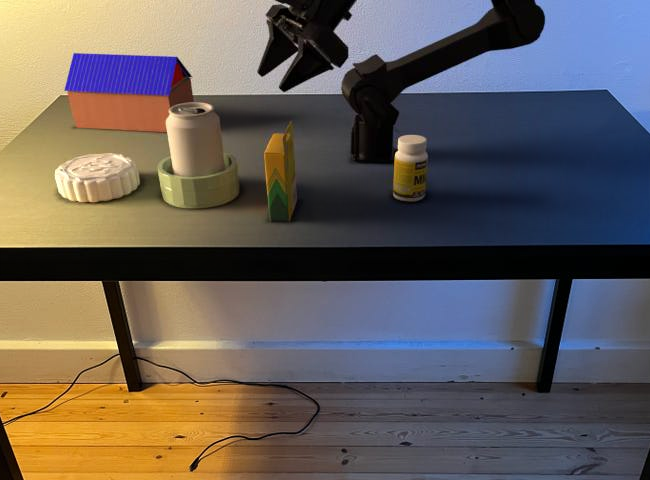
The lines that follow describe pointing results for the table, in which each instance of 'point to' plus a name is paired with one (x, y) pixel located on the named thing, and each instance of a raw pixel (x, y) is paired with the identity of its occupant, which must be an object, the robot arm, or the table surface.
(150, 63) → the house
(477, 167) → the table surface
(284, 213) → the crayon box
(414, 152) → the supplement bottle
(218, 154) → the can
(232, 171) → the pot
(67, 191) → the mooncake
